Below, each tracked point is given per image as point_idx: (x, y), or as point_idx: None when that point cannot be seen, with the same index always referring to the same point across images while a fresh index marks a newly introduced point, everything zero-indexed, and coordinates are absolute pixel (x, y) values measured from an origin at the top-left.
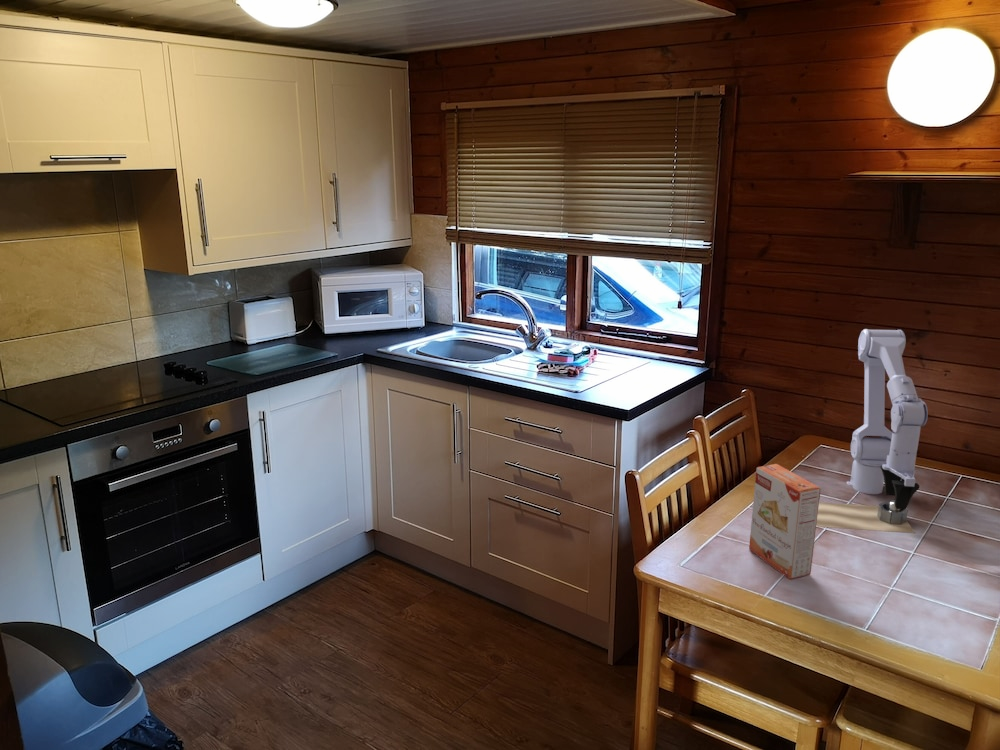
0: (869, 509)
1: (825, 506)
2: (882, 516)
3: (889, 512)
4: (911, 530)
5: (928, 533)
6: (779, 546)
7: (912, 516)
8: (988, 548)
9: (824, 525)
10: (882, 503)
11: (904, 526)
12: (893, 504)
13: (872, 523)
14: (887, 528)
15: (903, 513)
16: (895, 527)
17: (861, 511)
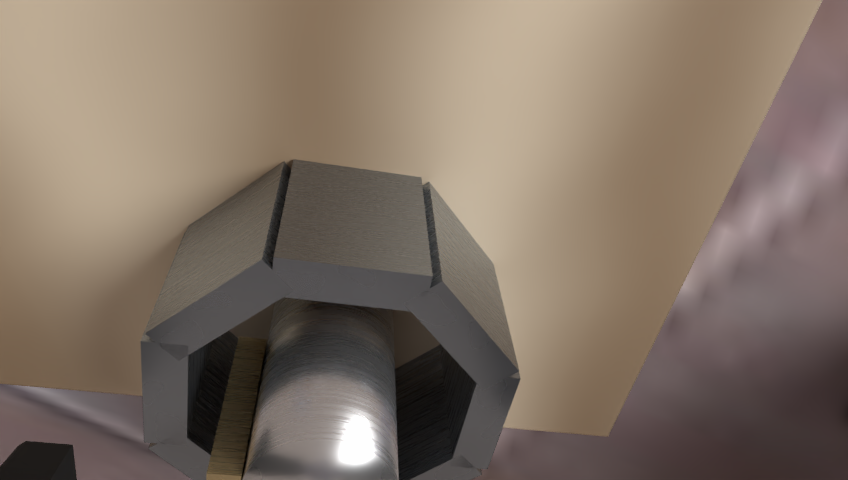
0: (617, 164)
1: None
2: (260, 205)
3: (164, 314)
4: (48, 369)
5: (148, 464)
6: None
7: (485, 473)
8: None
9: None
10: (475, 340)
11: None
12: (259, 453)
13: (159, 3)
14: (28, 144)
15: (165, 452)
16: (90, 249)
17: (576, 25)
